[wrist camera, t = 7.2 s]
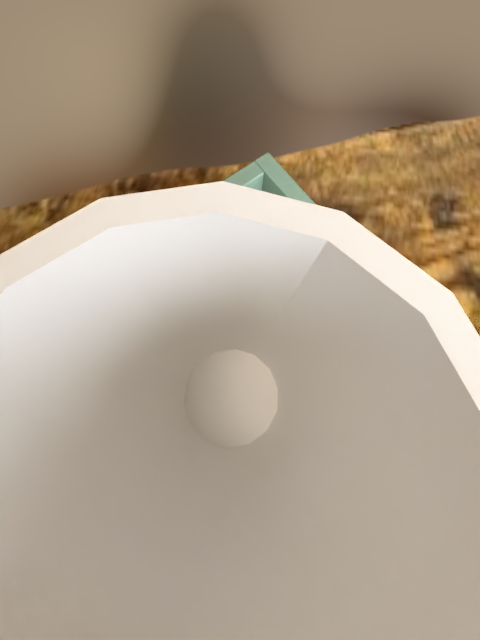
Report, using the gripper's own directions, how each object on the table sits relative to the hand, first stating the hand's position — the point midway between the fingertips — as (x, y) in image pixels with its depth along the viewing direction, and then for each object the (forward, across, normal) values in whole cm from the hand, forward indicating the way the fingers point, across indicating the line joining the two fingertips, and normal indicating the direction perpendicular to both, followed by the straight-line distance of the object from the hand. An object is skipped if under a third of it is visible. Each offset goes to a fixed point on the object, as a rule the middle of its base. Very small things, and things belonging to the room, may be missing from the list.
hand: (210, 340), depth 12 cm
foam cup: (+1, 0, -6) cm, 6 cm away
